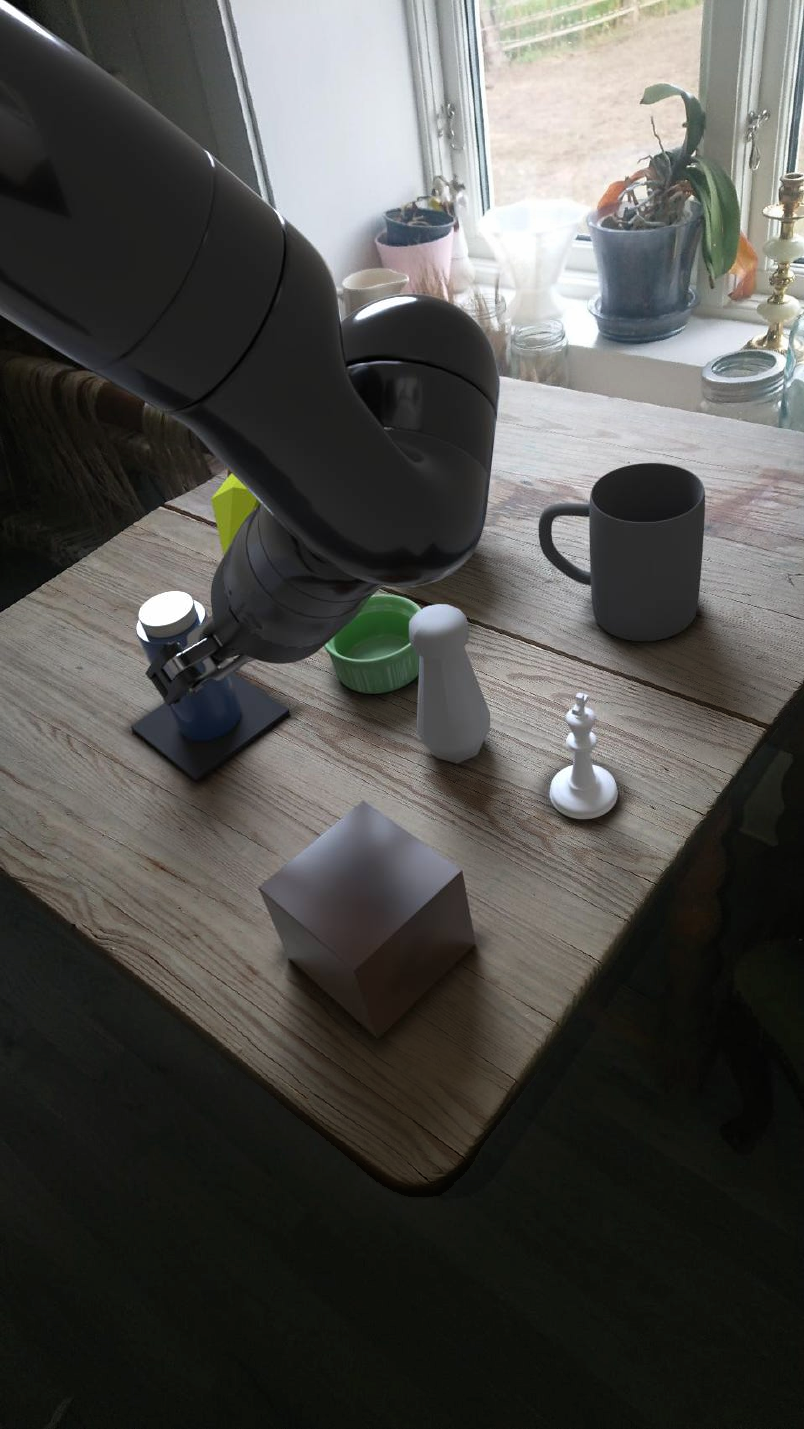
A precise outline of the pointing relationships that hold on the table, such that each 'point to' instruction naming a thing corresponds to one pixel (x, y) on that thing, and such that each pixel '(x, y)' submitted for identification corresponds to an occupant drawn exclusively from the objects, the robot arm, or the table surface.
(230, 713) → the blue cylinder
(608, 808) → the chess piece
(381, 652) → the ramekin
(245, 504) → the plumb bob
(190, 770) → the coaster
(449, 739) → the salt shaker
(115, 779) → the table surface
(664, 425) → the table surface
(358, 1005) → the cube
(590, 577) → the mug
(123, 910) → the table surface
